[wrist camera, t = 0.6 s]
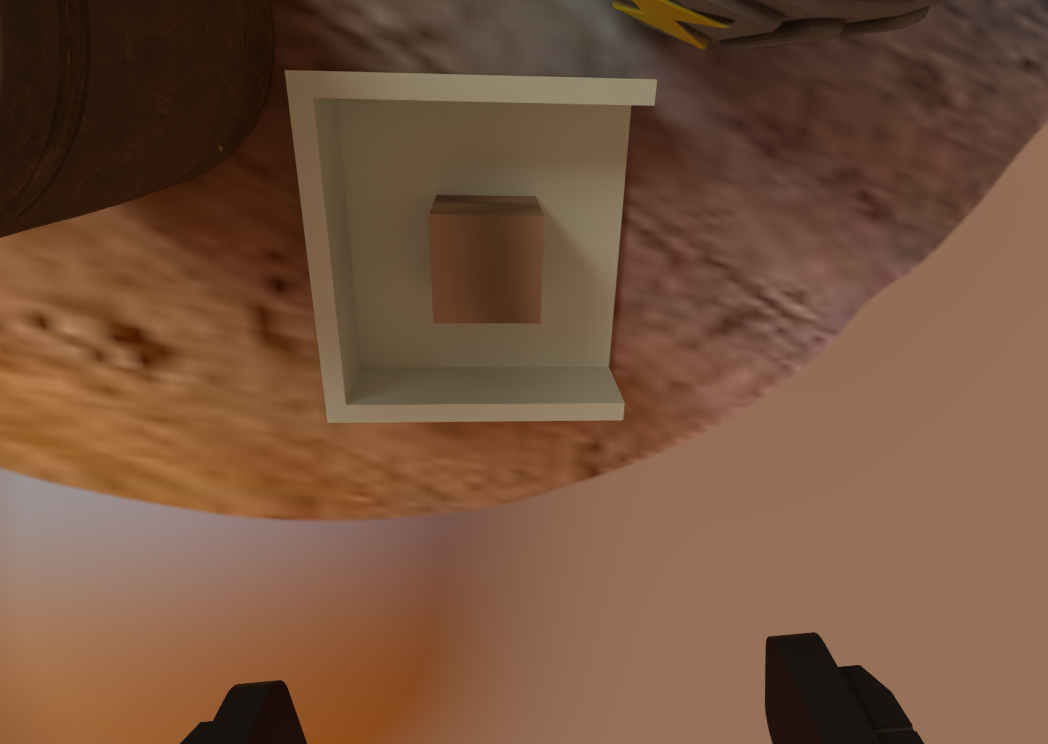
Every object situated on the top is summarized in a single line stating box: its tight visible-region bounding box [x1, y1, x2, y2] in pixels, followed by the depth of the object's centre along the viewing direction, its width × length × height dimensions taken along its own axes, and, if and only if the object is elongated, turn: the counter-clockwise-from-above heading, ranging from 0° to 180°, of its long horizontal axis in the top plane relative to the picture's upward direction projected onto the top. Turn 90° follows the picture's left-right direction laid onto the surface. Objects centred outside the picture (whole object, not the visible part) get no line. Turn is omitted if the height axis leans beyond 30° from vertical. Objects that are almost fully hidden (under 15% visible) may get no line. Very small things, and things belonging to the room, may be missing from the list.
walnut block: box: [429, 195, 544, 324], centre depth 31 cm, size 5×5×5 cm
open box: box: [285, 70, 657, 423], centre depth 31 cm, size 15×16×5 cm
